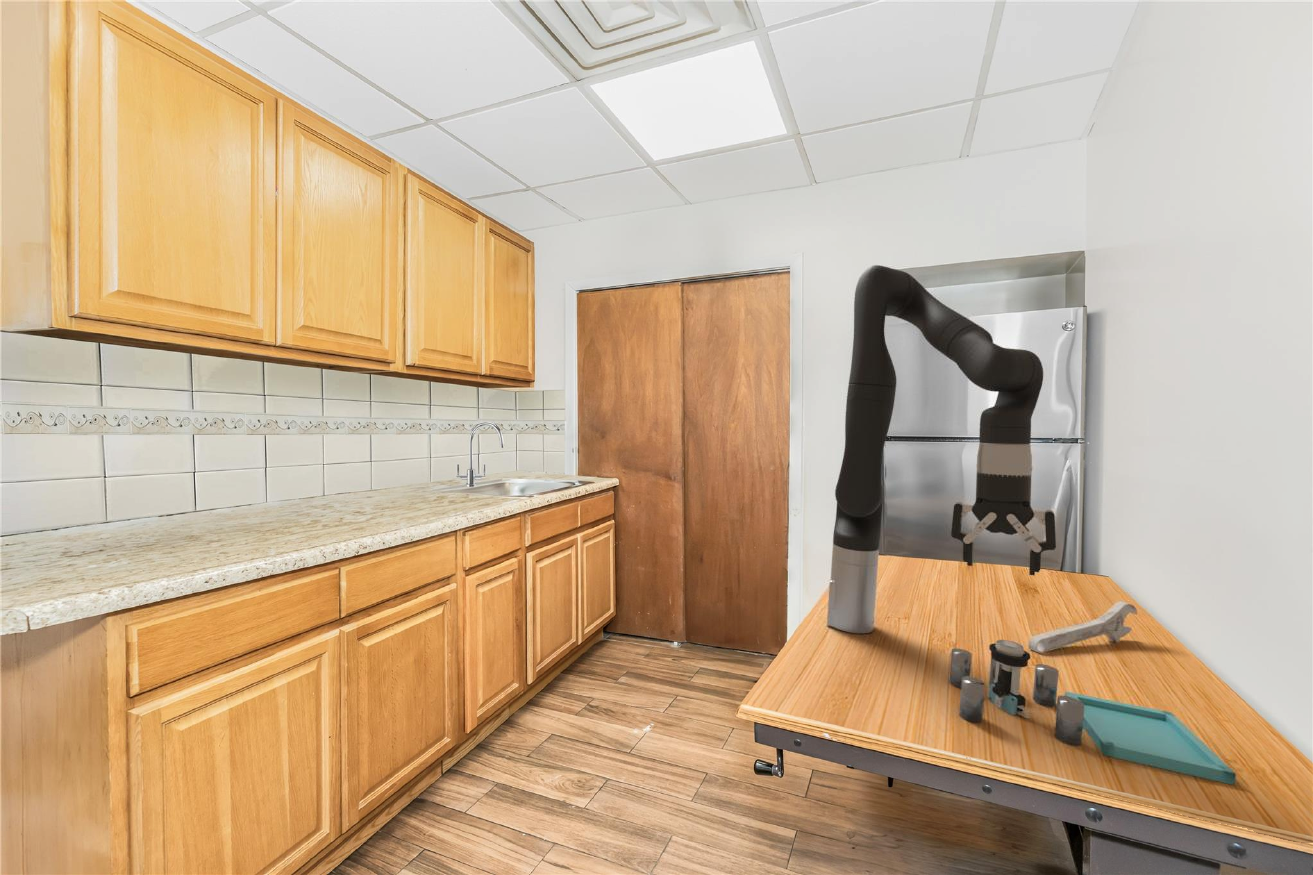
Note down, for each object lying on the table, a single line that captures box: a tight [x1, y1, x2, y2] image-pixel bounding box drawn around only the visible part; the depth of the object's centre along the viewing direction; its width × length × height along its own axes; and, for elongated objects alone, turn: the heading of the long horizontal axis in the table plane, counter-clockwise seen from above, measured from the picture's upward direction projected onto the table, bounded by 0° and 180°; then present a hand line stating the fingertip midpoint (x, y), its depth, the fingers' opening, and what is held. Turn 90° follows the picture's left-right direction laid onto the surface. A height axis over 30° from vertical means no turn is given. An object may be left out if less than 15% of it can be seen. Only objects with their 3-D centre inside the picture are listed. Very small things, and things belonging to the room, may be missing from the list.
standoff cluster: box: [948, 647, 1085, 747], centre depth 83 cm, size 15×15×6 cm
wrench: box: [1027, 600, 1138, 654], centre depth 110 cm, size 8×2×30 cm
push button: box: [987, 639, 1032, 719], centre depth 82 cm, size 7×5×10 cm
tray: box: [1064, 691, 1237, 786], centre depth 76 cm, size 13×15×2 cm
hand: (1000, 569), depth 87 cm, fingers open, 8 cm apart
